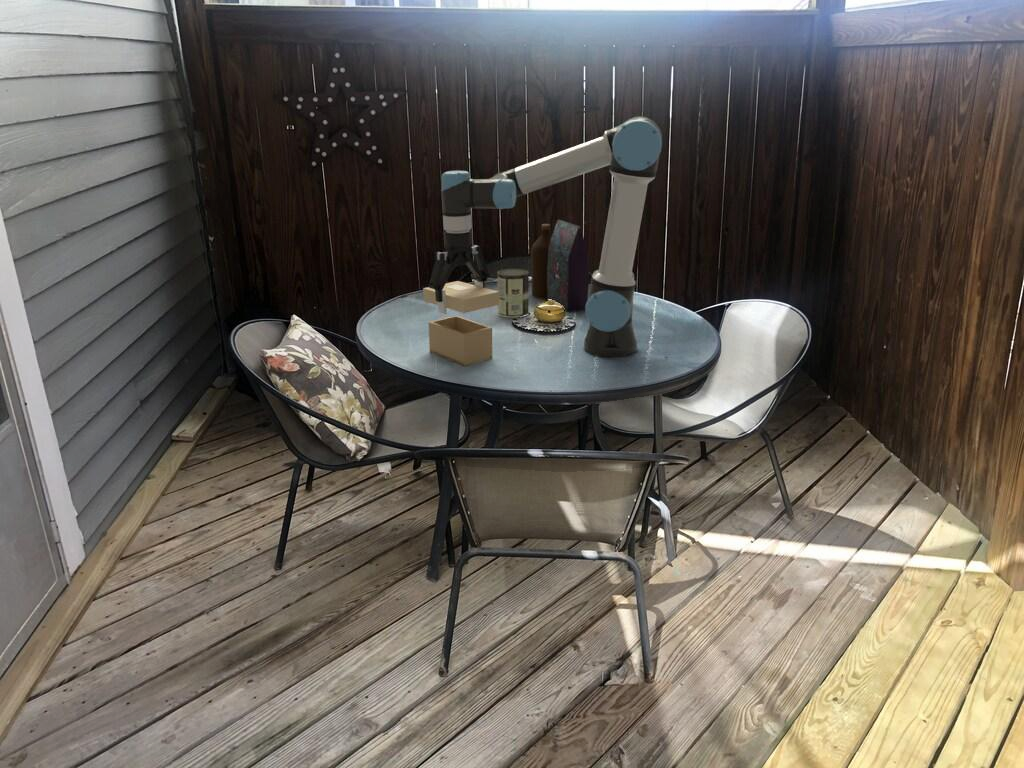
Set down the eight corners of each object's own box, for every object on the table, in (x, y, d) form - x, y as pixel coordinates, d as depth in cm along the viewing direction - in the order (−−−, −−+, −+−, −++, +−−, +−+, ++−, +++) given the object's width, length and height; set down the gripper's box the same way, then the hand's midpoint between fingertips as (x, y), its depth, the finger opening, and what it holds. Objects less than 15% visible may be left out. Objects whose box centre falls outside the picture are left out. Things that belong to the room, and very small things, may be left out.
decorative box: (566, 298, 296) (568, 218, 286) (589, 309, 282) (592, 226, 272) (545, 300, 292) (546, 220, 282) (567, 312, 278) (569, 228, 268)
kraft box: (492, 358, 235) (492, 327, 232) (464, 366, 229) (463, 334, 225) (457, 345, 246) (456, 315, 243) (429, 352, 240) (428, 321, 237)
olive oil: (534, 299, 294) (535, 228, 285) (527, 292, 304) (527, 222, 295) (563, 297, 296) (565, 226, 288) (555, 290, 306) (556, 221, 297)
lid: (499, 304, 229) (498, 291, 228) (464, 313, 222) (463, 299, 220) (458, 293, 242) (457, 280, 241) (423, 300, 235) (423, 287, 233)
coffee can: (517, 308, 284) (517, 267, 279) (535, 315, 276) (535, 273, 271) (491, 312, 278) (491, 271, 273) (508, 320, 270) (508, 277, 265)
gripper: (484, 223, 235) (486, 297, 243) (412, 235, 220) (417, 314, 228) (501, 226, 230) (503, 302, 237) (428, 238, 215) (433, 319, 222)
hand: (461, 308), depth 232 cm, fingers closed on lid, 12 cm apart
